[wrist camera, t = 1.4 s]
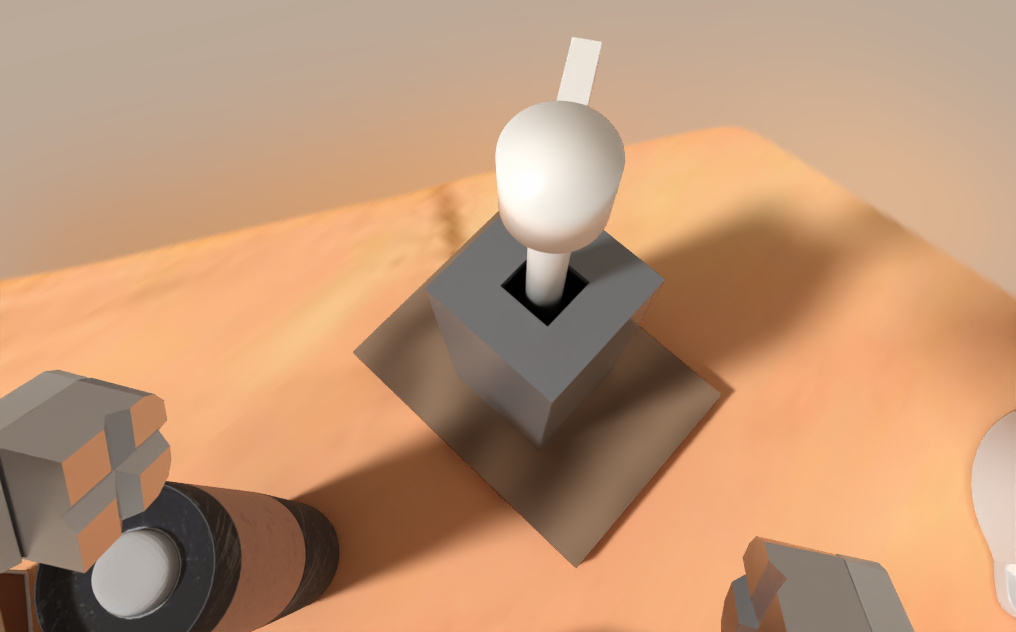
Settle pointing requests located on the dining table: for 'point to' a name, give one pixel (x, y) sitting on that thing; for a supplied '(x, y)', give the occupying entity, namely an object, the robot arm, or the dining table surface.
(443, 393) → the base plate
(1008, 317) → the dining table surface
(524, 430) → the grey upright block
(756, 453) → the dining table surface
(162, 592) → the travel mug
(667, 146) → the dining table surface
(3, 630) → the food container
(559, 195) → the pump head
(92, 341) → the dining table surface
